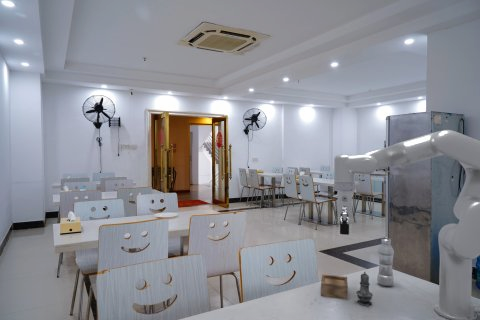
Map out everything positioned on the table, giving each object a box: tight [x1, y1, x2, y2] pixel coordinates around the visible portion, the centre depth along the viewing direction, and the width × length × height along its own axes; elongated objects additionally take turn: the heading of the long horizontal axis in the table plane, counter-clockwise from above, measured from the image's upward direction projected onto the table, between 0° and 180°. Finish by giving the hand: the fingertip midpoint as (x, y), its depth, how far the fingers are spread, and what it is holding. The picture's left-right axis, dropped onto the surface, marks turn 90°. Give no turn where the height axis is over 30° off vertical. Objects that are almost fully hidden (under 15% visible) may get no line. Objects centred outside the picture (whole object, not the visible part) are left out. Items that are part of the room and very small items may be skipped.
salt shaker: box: [356, 271, 374, 307], centre depth 123 cm, size 6×6×12 cm
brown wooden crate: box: [320, 273, 349, 301], centre depth 132 cm, size 10×10×5 cm
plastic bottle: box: [377, 237, 395, 287], centre depth 140 cm, size 6×7×20 cm
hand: (344, 231), depth 125 cm, fingers open, 9 cm apart
